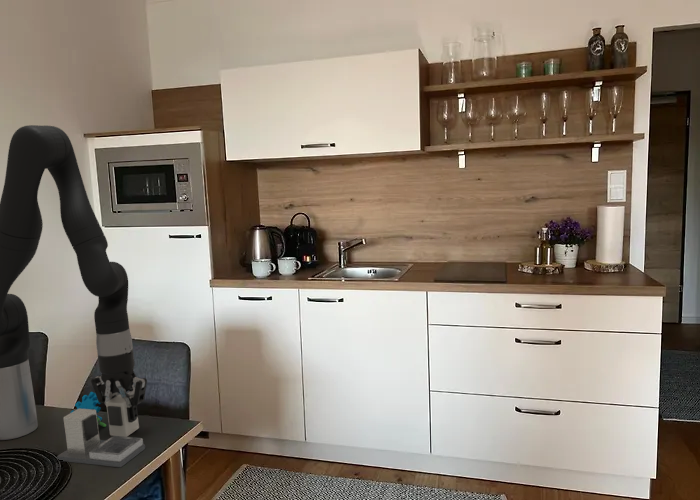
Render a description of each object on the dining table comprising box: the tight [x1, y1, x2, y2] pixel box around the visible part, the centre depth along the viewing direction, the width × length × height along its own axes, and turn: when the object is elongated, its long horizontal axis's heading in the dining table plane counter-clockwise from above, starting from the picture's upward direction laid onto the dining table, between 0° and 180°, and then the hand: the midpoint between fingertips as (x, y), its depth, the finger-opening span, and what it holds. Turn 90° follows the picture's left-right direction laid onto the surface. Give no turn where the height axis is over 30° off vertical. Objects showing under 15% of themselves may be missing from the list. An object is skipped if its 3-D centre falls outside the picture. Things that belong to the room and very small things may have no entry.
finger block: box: [105, 394, 140, 437], centre depth 129 cm, size 4×5×8 cm
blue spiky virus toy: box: [70, 391, 107, 428], centre depth 135 cm, size 11×6×10 cm
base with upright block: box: [56, 408, 146, 468], centre depth 119 cm, size 16×8×9 cm, turn 74°
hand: (123, 419), depth 130 cm, fingers closed on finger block, 4 cm apart
